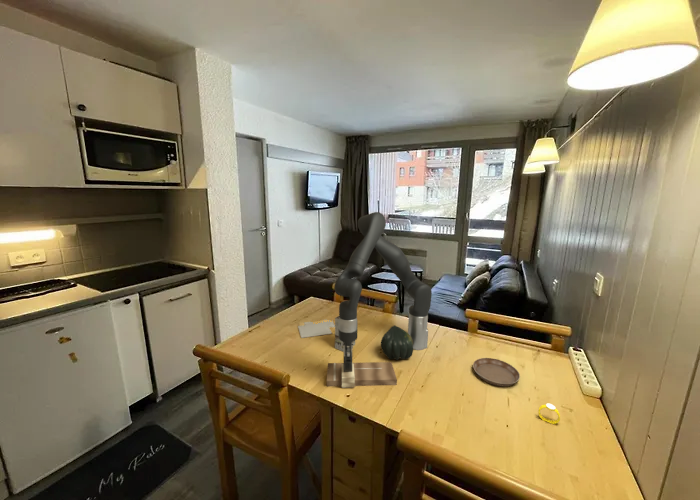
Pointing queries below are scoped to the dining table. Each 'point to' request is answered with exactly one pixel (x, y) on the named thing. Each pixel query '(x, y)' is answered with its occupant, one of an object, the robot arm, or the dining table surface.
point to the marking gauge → (348, 376)
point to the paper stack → (315, 329)
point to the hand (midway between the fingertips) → (347, 366)
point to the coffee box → (337, 341)
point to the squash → (397, 344)
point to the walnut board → (364, 374)
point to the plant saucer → (496, 371)
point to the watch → (552, 408)
